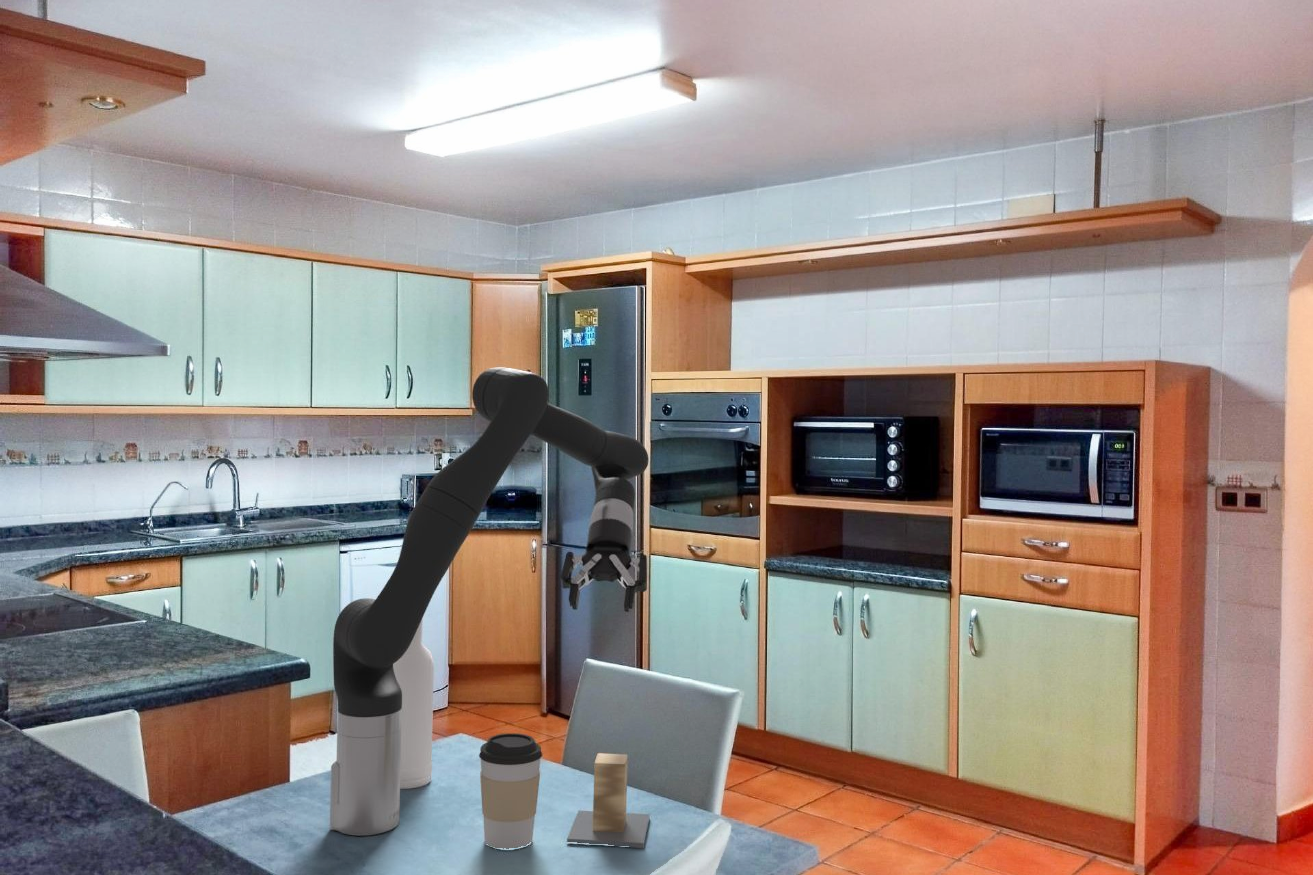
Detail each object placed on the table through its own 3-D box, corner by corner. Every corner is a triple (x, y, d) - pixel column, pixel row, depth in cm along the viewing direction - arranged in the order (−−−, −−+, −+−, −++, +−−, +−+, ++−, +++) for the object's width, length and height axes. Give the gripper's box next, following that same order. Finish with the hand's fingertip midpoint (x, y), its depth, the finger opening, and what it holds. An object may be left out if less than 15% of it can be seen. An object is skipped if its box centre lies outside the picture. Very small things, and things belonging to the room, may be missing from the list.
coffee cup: (510, 823, 153) (513, 724, 153) (553, 840, 147) (555, 737, 147) (463, 841, 146) (466, 737, 146) (506, 859, 140) (509, 751, 140)
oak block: (592, 830, 149) (594, 762, 149) (596, 819, 154) (598, 753, 154) (623, 832, 149) (625, 764, 149) (625, 820, 154) (627, 754, 153)
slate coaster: (567, 844, 146) (567, 838, 146) (578, 815, 157) (578, 810, 157) (643, 848, 145) (643, 842, 145) (649, 819, 156) (649, 814, 156)
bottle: (394, 771, 175) (398, 597, 175) (438, 774, 174) (442, 599, 174) (375, 787, 167) (379, 604, 167) (421, 791, 166) (425, 607, 166)
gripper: (568, 515, 175) (554, 592, 163) (650, 518, 174) (643, 596, 162) (572, 543, 180) (559, 619, 169) (652, 545, 179) (645, 623, 168)
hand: (600, 608), depth 166 cm, fingers open, 8 cm apart
